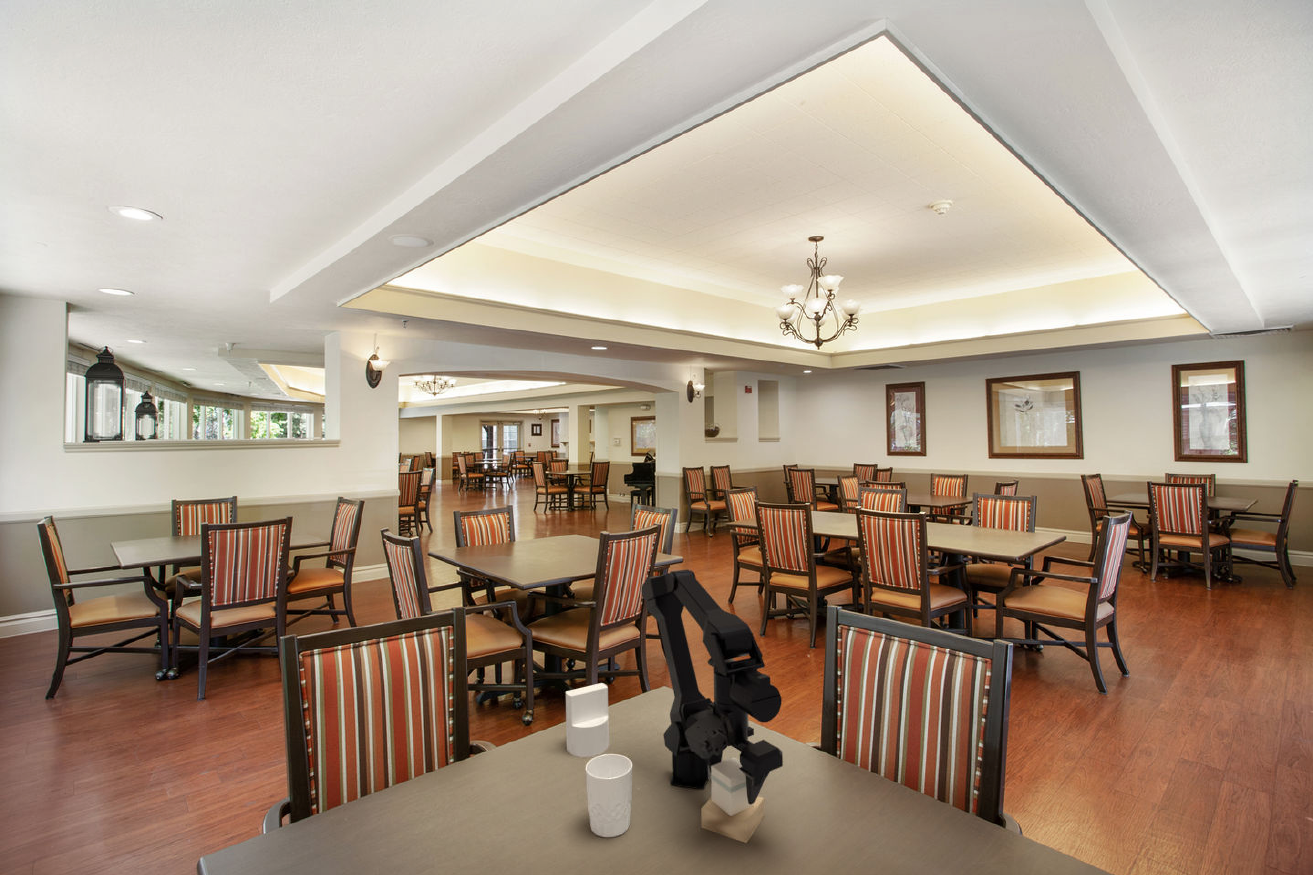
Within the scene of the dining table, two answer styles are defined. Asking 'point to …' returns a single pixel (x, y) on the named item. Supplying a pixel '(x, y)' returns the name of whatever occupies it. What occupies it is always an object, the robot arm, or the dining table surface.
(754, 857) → the dining table surface
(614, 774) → the white cup
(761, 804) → the oak block
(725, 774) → the white banded box
